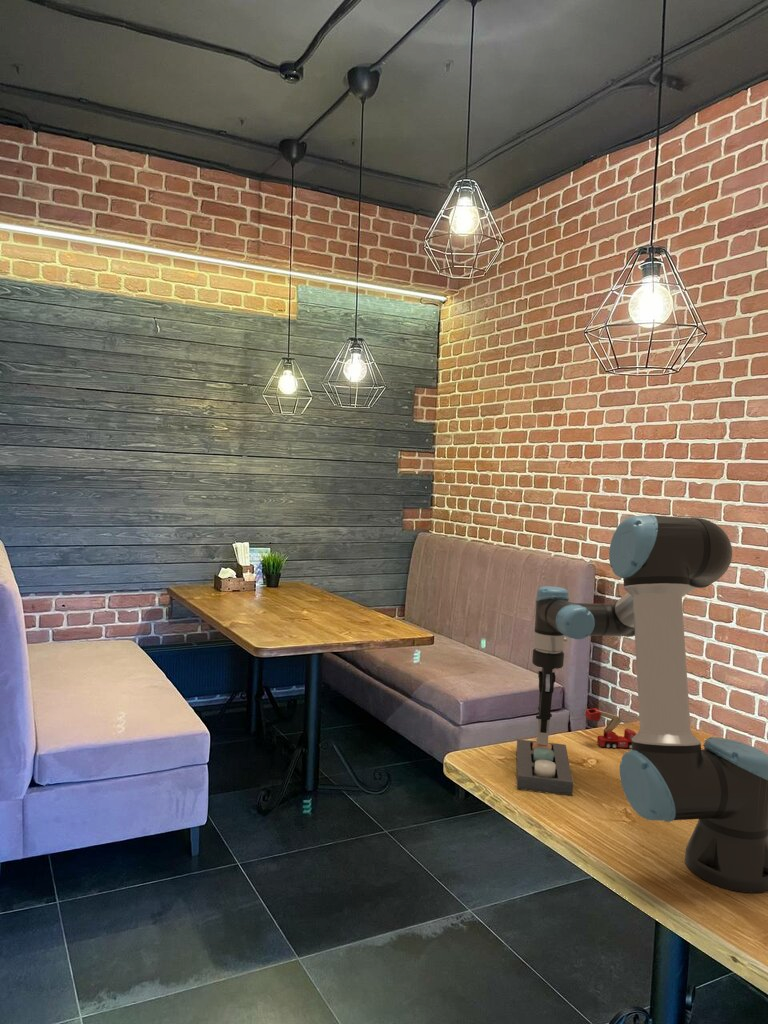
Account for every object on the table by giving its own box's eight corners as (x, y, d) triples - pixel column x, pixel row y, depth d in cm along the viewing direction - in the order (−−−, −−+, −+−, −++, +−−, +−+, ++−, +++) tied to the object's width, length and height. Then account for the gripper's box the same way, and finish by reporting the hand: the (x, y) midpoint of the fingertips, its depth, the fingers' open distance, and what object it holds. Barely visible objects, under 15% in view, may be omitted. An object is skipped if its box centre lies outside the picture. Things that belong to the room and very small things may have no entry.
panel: (572, 795, 167) (573, 782, 167) (517, 789, 169) (518, 775, 168) (564, 756, 190) (565, 744, 190) (516, 750, 192) (517, 739, 192)
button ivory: (555, 781, 169) (556, 768, 169) (534, 779, 170) (535, 766, 169) (554, 773, 173) (555, 761, 173) (533, 771, 174) (534, 758, 174)
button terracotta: (551, 761, 185) (552, 749, 185) (532, 759, 185) (532, 747, 185) (550, 754, 189) (551, 742, 189) (531, 752, 190) (532, 740, 190)
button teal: (553, 768, 177) (554, 755, 177) (533, 765, 177) (534, 753, 177) (552, 761, 181) (553, 748, 181) (532, 758, 182) (533, 746, 182)
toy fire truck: (638, 749, 198) (641, 713, 198) (587, 748, 197) (589, 711, 197) (633, 745, 202) (635, 709, 201) (583, 743, 201) (585, 707, 200)
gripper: (566, 657, 179) (559, 755, 180) (562, 645, 192) (556, 736, 193) (533, 654, 180) (527, 751, 181) (532, 642, 193) (526, 733, 194)
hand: (542, 743), depth 187 cm, fingers closed
